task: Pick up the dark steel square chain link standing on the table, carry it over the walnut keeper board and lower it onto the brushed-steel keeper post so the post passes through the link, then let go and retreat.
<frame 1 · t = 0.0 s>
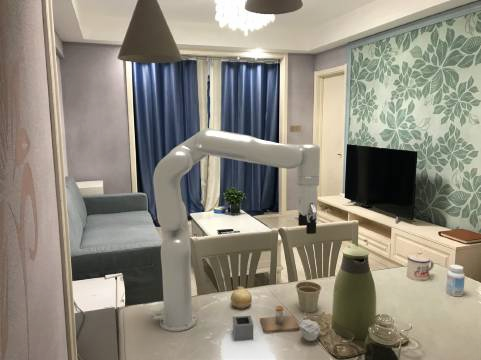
hand: (306, 229, 136), 31 cm above the table, fingers open, 9 cm apart
crumpled paper ball: (309, 340, 125), on the table
teacup with lid: (420, 277, 172), on the table
flower pot: (307, 309, 145), on the table
onion: (241, 306, 148), on the table
keeper: (279, 325, 133), on the table
link: (242, 334, 128), on the table
pill bottle: (454, 294, 156), on the table
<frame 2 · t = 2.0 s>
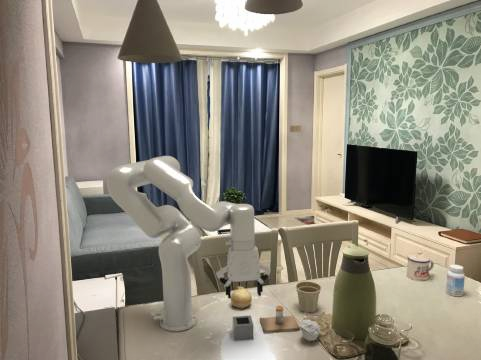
hand: (244, 295, 125), 14 cm above the table, fingers open, 9 cm apart
nothing on the table moved.
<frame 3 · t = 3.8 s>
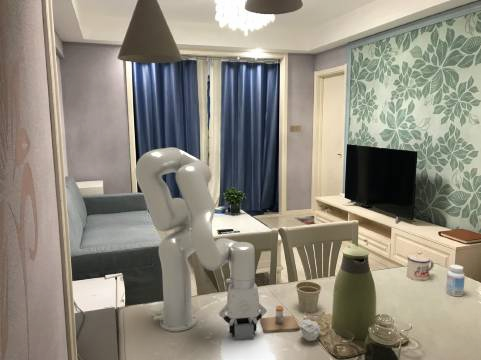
hand: (242, 333, 128), 1 cm above the table, fingers closed on link, 6 cm apart
link: (242, 335, 128), on the table, touching gripper
everything else where it was.
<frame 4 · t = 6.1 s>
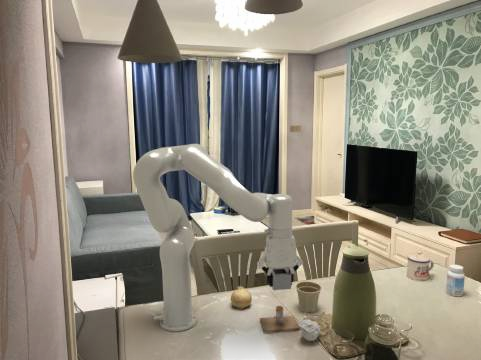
hand: (280, 284, 131), 15 cm above the table, fingers closed on link, 6 cm apart
link: (280, 285, 131), point 14 cm above the table, touching gripper
everything else where it was.
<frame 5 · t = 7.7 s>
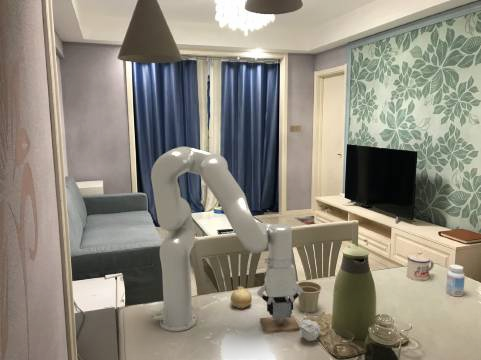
hand: (280, 312, 133), 5 cm above the table, fingers closed on link, 6 cm apart
link: (280, 313, 133), point 4 cm above the table, touching gripper
everything else where it was.
when the fingers open (3 cm above the table, at t = 8.9 s): link drops 2 cm, resting on keeper.
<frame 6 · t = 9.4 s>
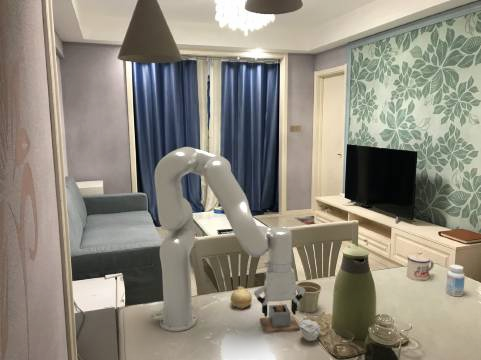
hand: (279, 313, 133), 4 cm above the table, fingers open, 9 cm apart
link: (279, 322, 133), point 1 cm above the table, touching keeper
everything else where it was.
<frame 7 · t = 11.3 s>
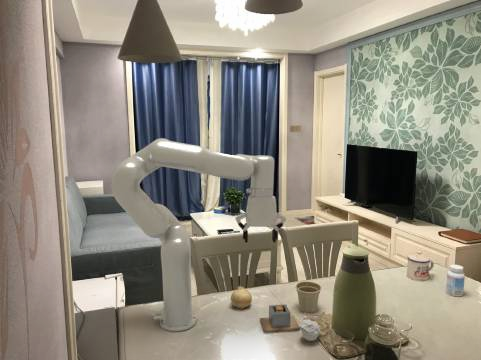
hand: (259, 241, 135), 28 cm above the table, fingers open, 9 cm apart
nothing on the table moved.
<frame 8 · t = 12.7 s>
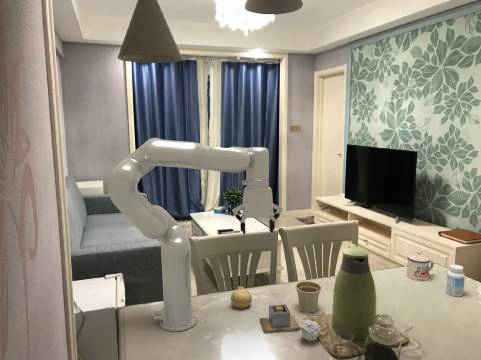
hand: (257, 232, 136), 30 cm above the table, fingers open, 9 cm apart
nothing on the table moved.
at the end: link 0.0 cm off-centre on the keeper, point 1.0 cm above the keeper's base; the gripper is holding nothing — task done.
